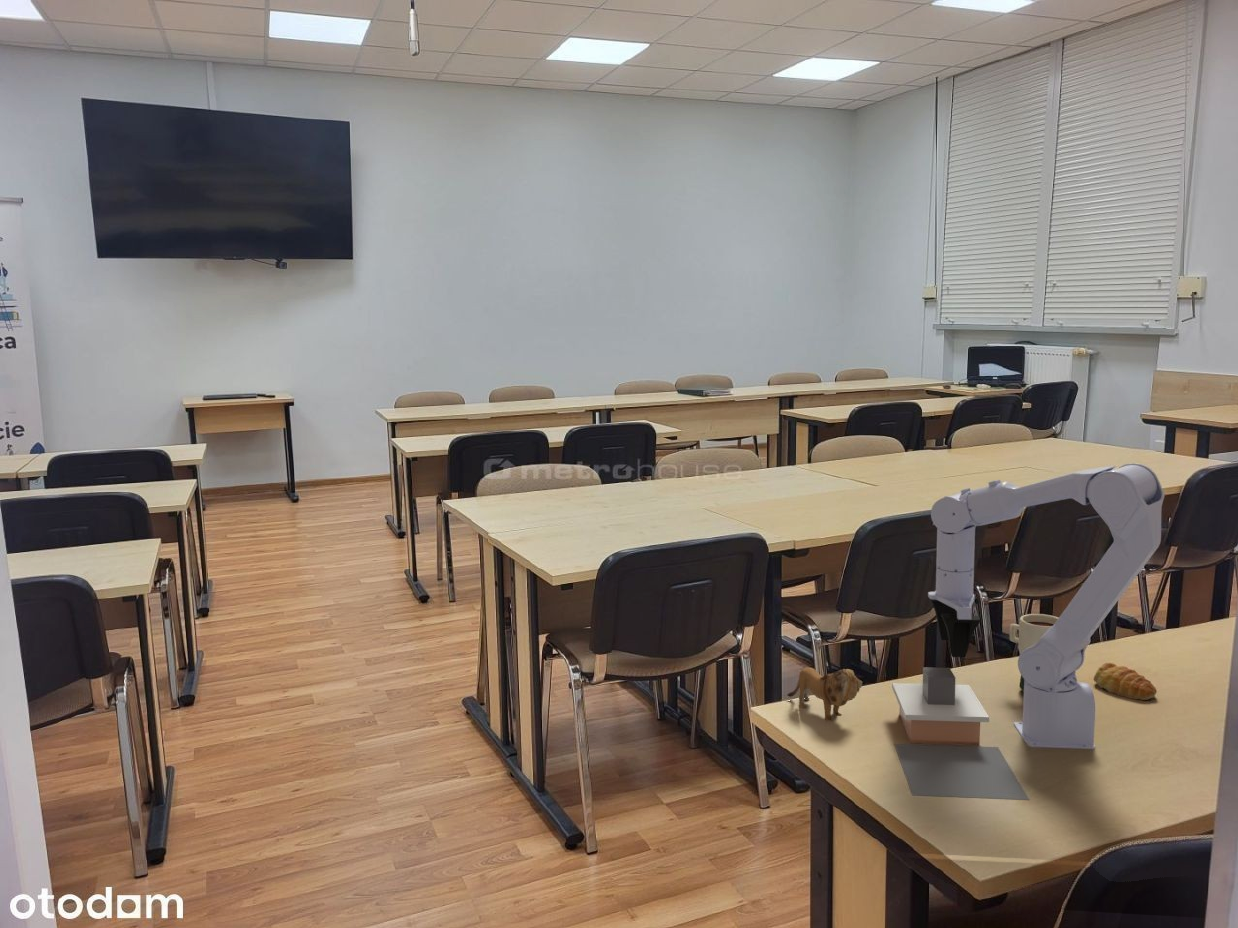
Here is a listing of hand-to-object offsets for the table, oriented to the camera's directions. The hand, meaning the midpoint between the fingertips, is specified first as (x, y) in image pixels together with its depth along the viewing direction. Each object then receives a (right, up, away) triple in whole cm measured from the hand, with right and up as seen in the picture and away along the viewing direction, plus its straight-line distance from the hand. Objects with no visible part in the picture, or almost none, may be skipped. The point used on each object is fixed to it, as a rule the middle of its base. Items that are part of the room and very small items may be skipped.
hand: (952, 647), depth 146 cm
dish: (-5, -12, -7) cm, 14 cm away
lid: (-5, -7, -7) cm, 11 cm away
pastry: (+32, -9, +7) cm, 34 cm away
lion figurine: (-21, -11, +1) cm, 24 cm away
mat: (-7, -14, -19) cm, 25 cm away
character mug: (+17, -9, +6) cm, 20 cm away
